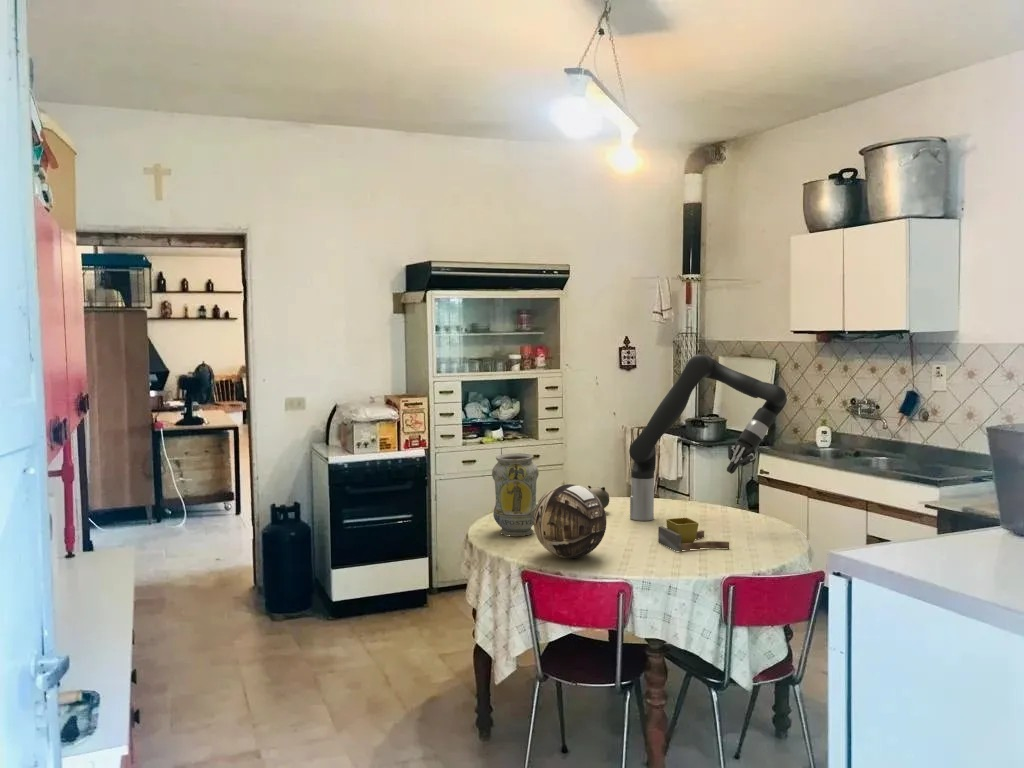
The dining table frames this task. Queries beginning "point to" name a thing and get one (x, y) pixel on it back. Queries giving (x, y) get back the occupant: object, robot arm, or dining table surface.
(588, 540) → the sphere
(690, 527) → the flower pot
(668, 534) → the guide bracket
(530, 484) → the vase
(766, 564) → the dining table surface
